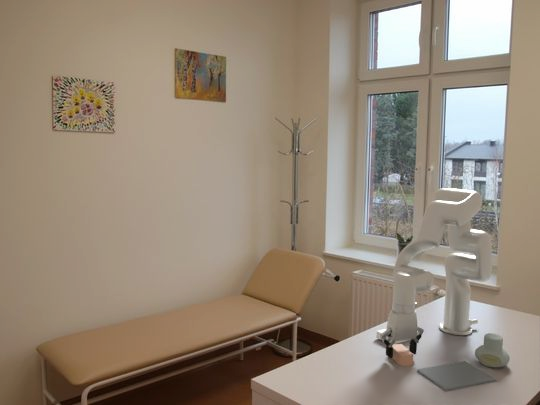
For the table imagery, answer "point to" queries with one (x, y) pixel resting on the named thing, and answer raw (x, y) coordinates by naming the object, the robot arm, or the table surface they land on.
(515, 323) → the table surface
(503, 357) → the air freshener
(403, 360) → the card box
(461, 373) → the mat
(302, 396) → the table surface
